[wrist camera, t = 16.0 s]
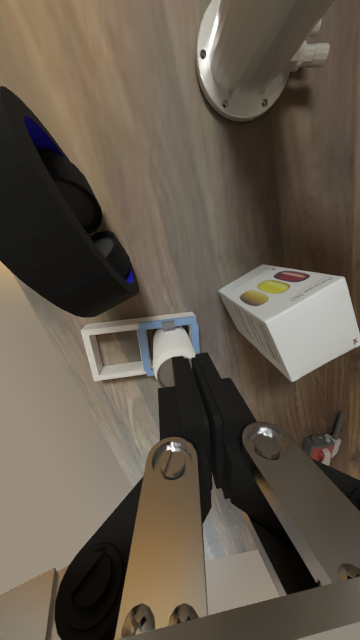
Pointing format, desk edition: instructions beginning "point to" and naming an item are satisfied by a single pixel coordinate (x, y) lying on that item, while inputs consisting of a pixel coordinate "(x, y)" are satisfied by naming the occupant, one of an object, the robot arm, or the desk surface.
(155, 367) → the can
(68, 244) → the headphones
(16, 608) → the robot arm
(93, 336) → the block
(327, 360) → the supplement box
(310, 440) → the walkie-talkie
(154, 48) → the desk surface
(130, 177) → the desk surface
